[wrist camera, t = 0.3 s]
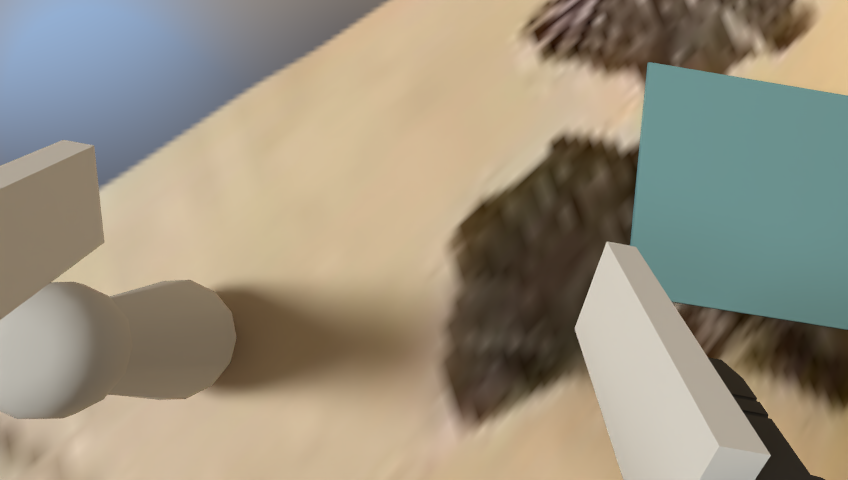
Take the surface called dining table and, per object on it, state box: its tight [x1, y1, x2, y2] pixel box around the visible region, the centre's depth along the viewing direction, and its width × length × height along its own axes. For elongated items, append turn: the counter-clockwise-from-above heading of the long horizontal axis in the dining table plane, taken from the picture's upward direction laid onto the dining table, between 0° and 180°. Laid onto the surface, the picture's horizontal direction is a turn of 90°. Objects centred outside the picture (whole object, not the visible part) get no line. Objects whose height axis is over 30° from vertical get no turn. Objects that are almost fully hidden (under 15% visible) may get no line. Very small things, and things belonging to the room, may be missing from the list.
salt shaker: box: [0, 280, 237, 419], centre depth 22 cm, size 6×6×13 cm
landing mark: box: [630, 62, 848, 330], centre depth 31 cm, size 14×14×1 cm
